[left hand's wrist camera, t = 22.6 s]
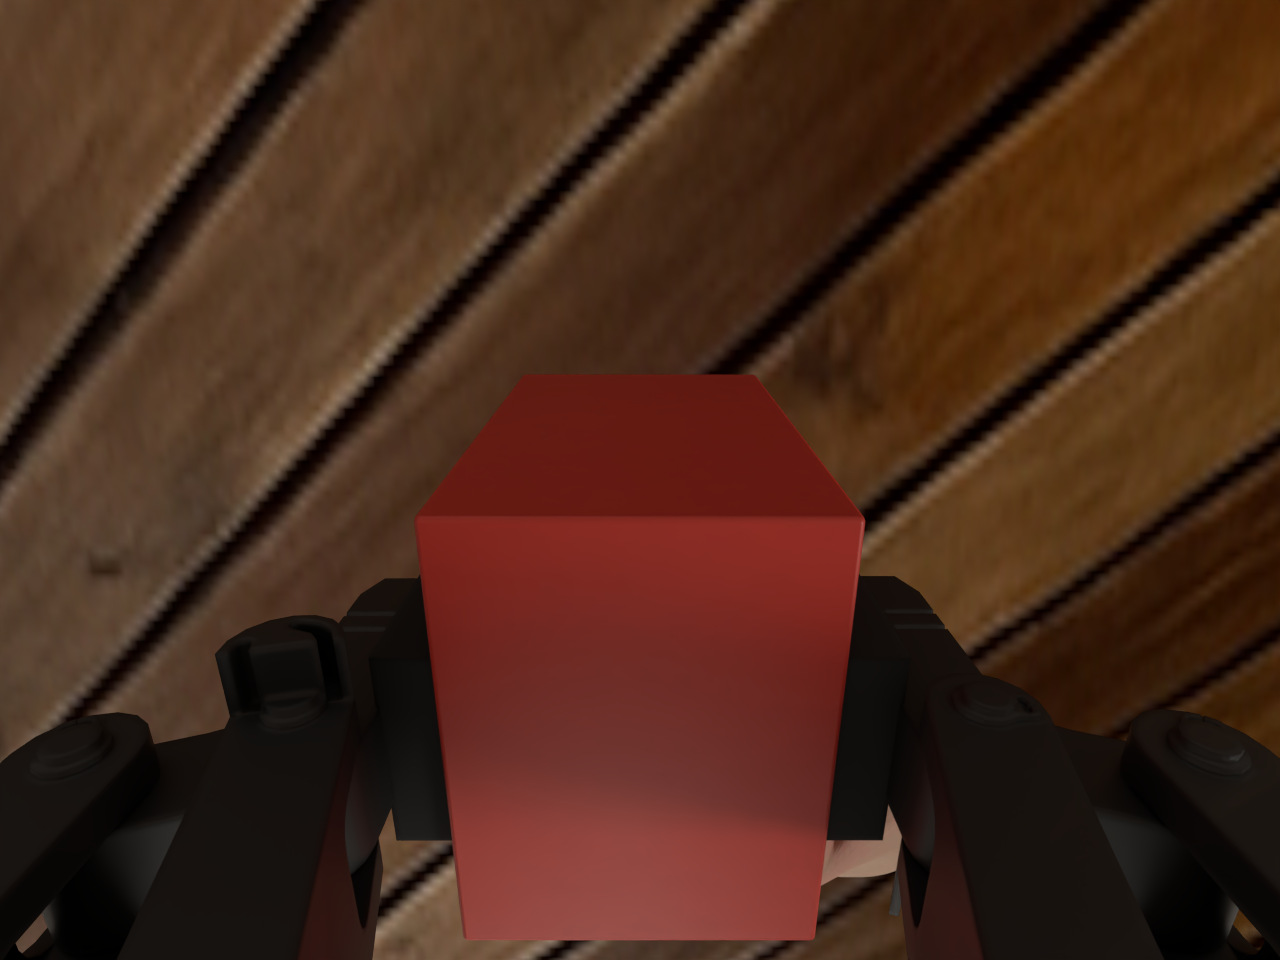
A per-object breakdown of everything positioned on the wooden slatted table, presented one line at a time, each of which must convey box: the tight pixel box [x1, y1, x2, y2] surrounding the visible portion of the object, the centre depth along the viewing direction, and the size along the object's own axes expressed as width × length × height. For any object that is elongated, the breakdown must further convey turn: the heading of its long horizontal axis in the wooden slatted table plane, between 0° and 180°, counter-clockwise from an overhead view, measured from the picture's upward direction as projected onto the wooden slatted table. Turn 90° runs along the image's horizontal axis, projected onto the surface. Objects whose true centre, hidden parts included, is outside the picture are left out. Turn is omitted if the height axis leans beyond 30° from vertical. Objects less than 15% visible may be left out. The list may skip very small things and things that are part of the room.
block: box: [414, 375, 865, 940], centre depth 12 cm, size 5×6×7 cm
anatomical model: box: [821, 805, 902, 885], centre depth 31 cm, size 13×4×12 cm
